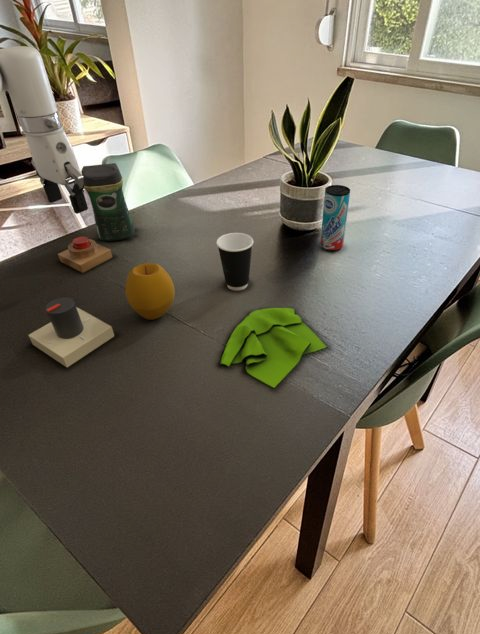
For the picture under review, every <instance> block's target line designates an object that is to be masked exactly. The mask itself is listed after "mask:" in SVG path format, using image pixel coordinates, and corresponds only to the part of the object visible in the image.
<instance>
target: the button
mask: <svg viewBox="0 0 480 634" xmlns="http://www.w3.org/2000/svg"><path fill="white" fill-rule="evenodd" d="M88 239H89V238H88V237H87V236H78V237H76V238H73V240H72V242H73V244H74V247H75V249H78V250H81V249H86V248H88V247H90V243H89V240H88Z"/></svg>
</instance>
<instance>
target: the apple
mask: <svg viewBox="0 0 480 634" xmlns="http://www.w3.org/2000/svg"><path fill="white" fill-rule="evenodd" d="M124 291H125V297H126V299H127V303H128V304H129V306H130V307H131V308H132V310H133V311H135V312H136V313H137V314H138V315H139V316H140V317H142V318H144V319H146V320H156V319H159V318H161V317H163V316H165V314H166V313H167V312H168V311H169V309H170V308H171V306H172V305H173V303H174V299H175V296H176V293H175V292H176V291H175V284H174V282H173V279H172V277H171V276H170V275H169V273H168V272H167V271H166V270H165V269H164V268H163V266H161V265H160V264H157V263H152V262H144V263H142V264H139V265H136V266H135V267H133V268H132V269H130V271H129V273H128V275H127V277H126V282H125V290H124Z"/></svg>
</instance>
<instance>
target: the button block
mask: <svg viewBox="0 0 480 634" xmlns="http://www.w3.org/2000/svg"><path fill="white" fill-rule="evenodd" d="M88 240H89V243H90V247H88V248H86V249H81V250H78V249H75V247H74V244H73V241H72V242H70V243H69V245H68V246H67V249H66V250H63V251H61V252H60V253H57V256H58V259H59V262H60V263H62V264H64V265H66V266H67V267H70V268H72V269H74V270H76V271H78V272H80V273H82V274H83V273H86V272H87V271H89V270H91V269H93V268H95V267H97V266H99V265H101V264H103V263H104V262H106V261H109V260H110V259H112V258H113V253H112V250H111V249H110V248H107V247H105V246H103V245H101V244H98V243H97V242H96V240H94V239H91V238H88Z"/></svg>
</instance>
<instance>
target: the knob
mask: <svg viewBox="0 0 480 634" xmlns="http://www.w3.org/2000/svg"><path fill="white" fill-rule="evenodd" d="M76 307H77V305H76V303H75V300H74V299H72V298H70V297H58V298H55V299H53V300H51V301H49V302H48V303H47V304H46V306H45V312H46V314H47V316H48V318H49V321H50V322H51V323H52V325H53V328H54V330H55V332H56V334H57V336H58V337H60V338H63V339H69V338H73V337H76V336H78V335H79V334H80V333H81V332H82V331H83V329H84V327H83V324H82V321H81V319H80V316H79V313H78V311H77V308H78V307H77V308H76Z"/></svg>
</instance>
